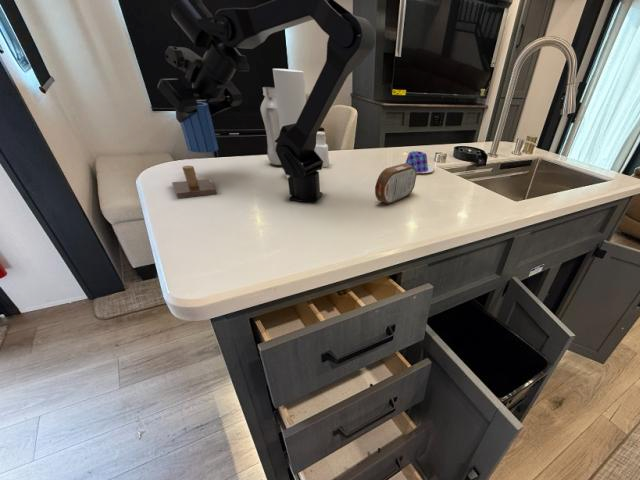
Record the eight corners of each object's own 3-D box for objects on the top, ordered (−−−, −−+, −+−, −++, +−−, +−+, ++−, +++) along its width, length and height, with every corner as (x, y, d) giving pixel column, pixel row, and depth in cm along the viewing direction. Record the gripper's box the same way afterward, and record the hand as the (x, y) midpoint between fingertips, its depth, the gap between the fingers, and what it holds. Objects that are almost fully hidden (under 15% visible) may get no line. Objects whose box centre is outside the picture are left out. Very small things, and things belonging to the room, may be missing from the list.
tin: (407, 191, 91) (410, 159, 86) (416, 194, 89) (420, 162, 84) (373, 205, 80) (374, 170, 75) (383, 208, 79) (385, 173, 74)
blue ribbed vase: (223, 147, 85) (213, 103, 78) (209, 153, 79) (197, 107, 73) (198, 144, 85) (185, 100, 78) (182, 150, 79) (168, 103, 73)
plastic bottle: (277, 169, 96) (267, 89, 84) (264, 163, 99) (251, 86, 87) (295, 165, 100) (287, 89, 88) (281, 160, 103) (272, 86, 91)
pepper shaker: (326, 168, 101) (325, 134, 95) (314, 166, 101) (311, 133, 95) (329, 164, 104) (327, 132, 99) (316, 163, 104) (314, 130, 98)
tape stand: (209, 183, 82) (203, 160, 79) (216, 194, 77) (210, 170, 74) (173, 187, 78) (165, 163, 75) (178, 198, 73) (169, 173, 70)
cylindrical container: (317, 177, 94) (310, 72, 78) (298, 182, 89) (287, 71, 73) (299, 171, 96) (289, 69, 81) (280, 176, 91) (266, 68, 76)
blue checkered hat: (416, 162, 115) (418, 147, 112) (441, 172, 109) (443, 155, 106) (391, 167, 108) (392, 150, 105) (416, 177, 102) (418, 159, 99)
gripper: (220, 35, 74) (195, 86, 83) (146, 27, 60) (125, 90, 69) (256, 80, 77) (228, 125, 86) (194, 83, 63) (168, 136, 72)
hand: (191, 118), depth 78 cm, fingers closed on blue ribbed vase, 7 cm apart
